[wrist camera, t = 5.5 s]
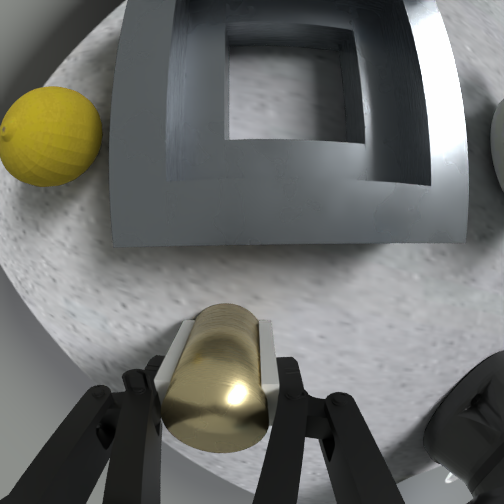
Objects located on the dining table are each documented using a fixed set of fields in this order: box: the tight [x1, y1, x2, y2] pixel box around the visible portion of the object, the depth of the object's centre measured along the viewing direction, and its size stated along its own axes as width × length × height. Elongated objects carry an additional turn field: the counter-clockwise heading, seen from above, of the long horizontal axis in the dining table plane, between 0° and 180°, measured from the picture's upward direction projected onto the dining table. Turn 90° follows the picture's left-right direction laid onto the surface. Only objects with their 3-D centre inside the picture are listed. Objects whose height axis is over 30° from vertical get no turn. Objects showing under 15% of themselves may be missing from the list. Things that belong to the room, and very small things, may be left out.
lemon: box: [0, 86, 103, 187], centre depth 12 cm, size 6×6×8 cm
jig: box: [109, 0, 469, 247], centre depth 11 cm, size 16×16×8 cm
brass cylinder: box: [161, 303, 269, 453], centre depth 14 cm, size 5×5×8 cm
